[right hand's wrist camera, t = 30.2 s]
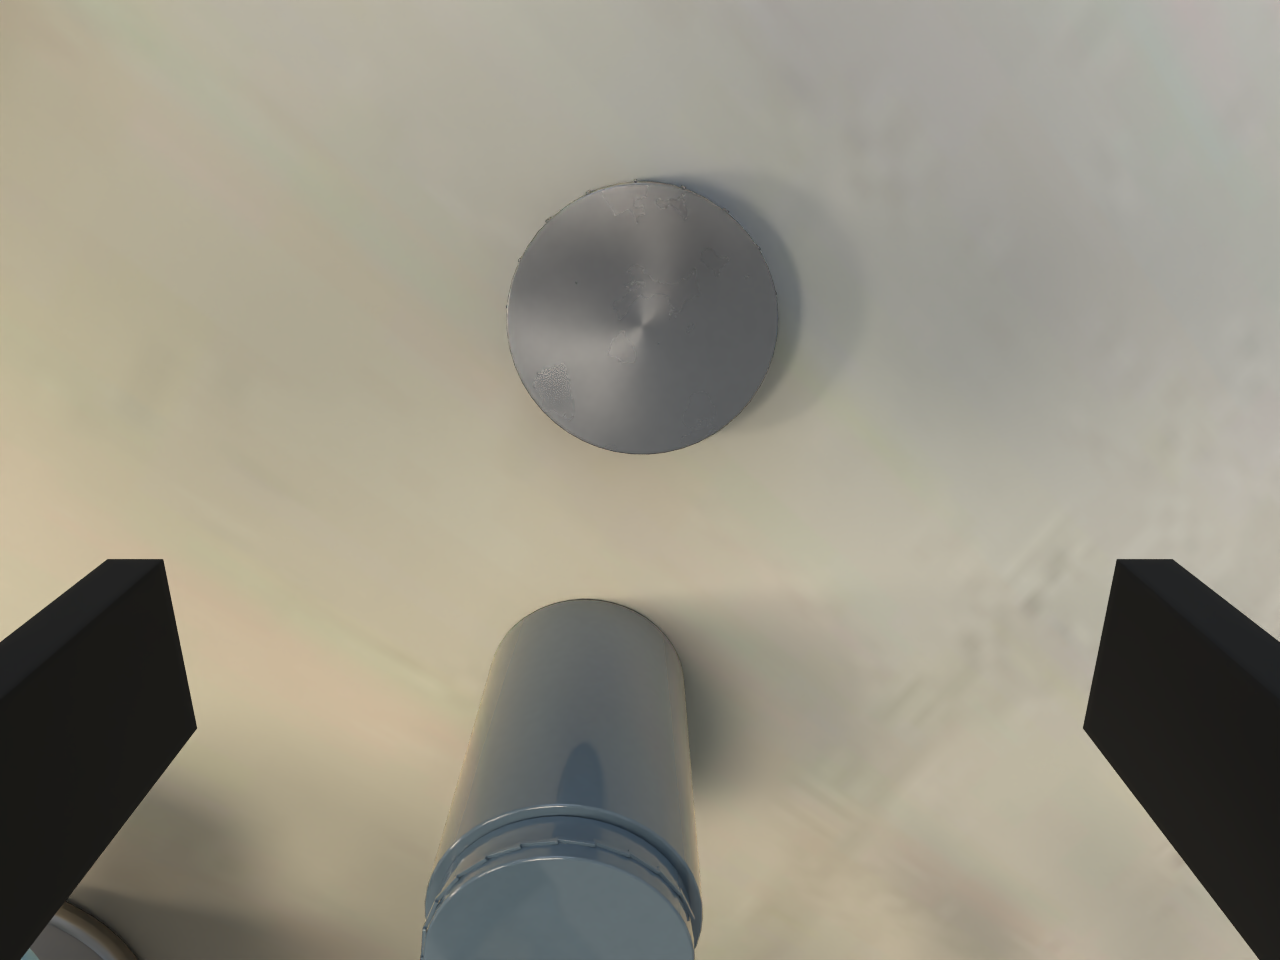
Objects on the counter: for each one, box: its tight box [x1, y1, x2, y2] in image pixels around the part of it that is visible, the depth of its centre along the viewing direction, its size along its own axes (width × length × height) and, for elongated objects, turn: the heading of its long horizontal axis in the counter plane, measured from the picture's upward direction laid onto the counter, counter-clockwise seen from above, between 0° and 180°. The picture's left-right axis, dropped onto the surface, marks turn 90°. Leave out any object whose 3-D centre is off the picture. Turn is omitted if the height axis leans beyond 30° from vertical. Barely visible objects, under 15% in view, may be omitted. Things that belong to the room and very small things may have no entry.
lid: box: [506, 179, 778, 454], centre depth 37 cm, size 11×11×2 cm
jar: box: [420, 600, 703, 960], centre depth 37 cm, size 10×10×16 cm
